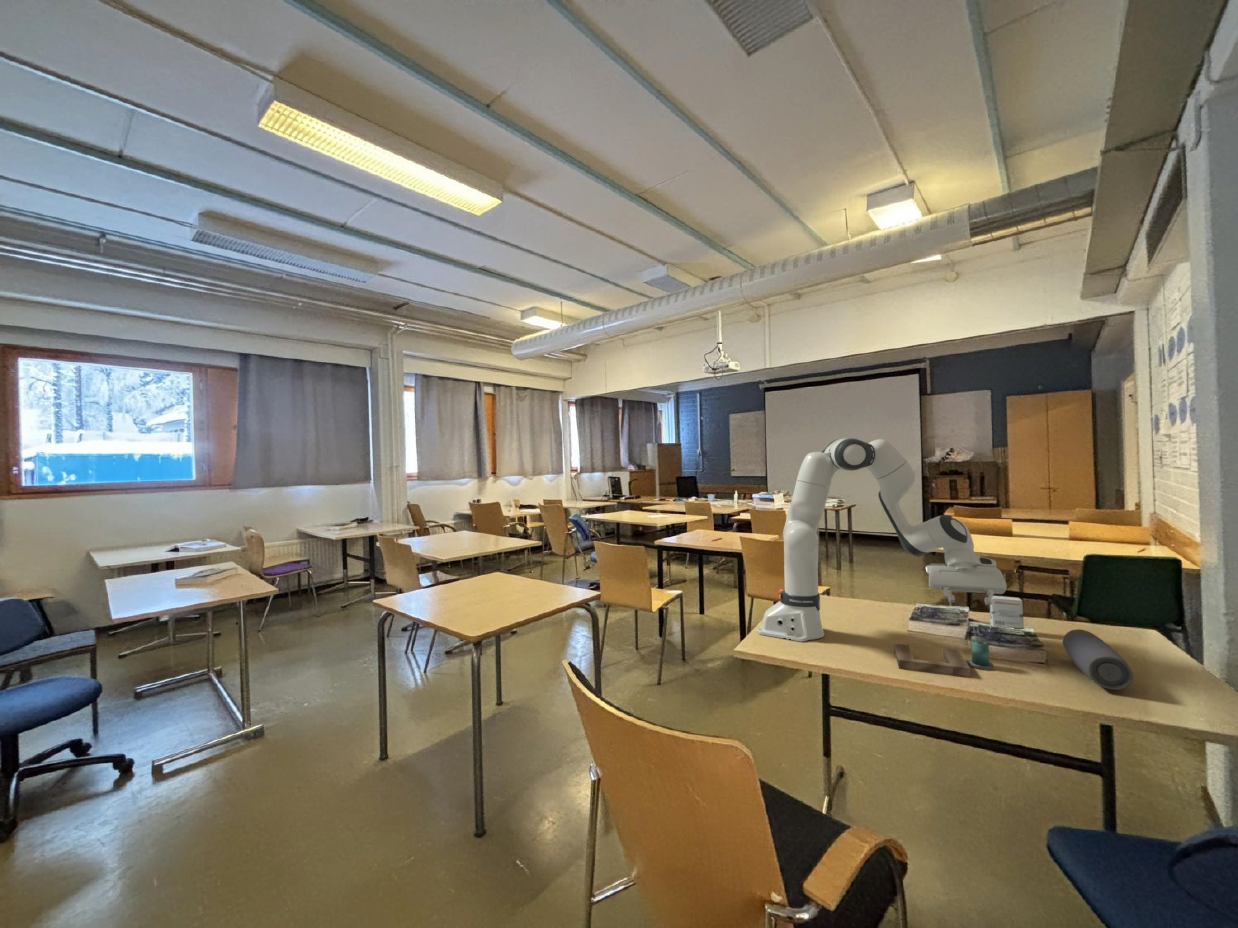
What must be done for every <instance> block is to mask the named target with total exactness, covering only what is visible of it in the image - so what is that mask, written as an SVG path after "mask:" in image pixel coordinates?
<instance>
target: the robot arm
mask: <svg viewBox="0 0 1238 928" xmlns="http://www.w3.org/2000/svg"><path fill="white" fill-rule="evenodd" d="M800 465H801V466H800V467H799V470H798V474H797V478H796V482H795V486H794V489H793V493H792V497H791V501H790V505H789V508H788V511H787V512H788V513H787V514H786V515H787V516H786V520H785V524H784V527H783V531H782V537H783V563H784V564H783V566H784V569H783V570H784V571H783V572H784V573H783V575H784V577H783V578H784V589H782V588H780V589H779V590H778V602H776V603H775V604H773V605H772V606H770V607H769V608H767V609H766V610H765V612H764V615H763V619H762V621H763V620H764V621H763V624H761V626H760V627H758V628H757V626H758V624H760V623H761V622H762V621H760V622H759V623H758V624H757V626H756V633H758V634H759V635H762V636H767V637H773V638H778V639H783V638H786V639H785V640H789V639H791V641H795V642H802V643H803V642H807V641H809V640H818V639H822V638H823V637H824V636H825V631H824V629H823V625H822V620H821V615H820V614H821V613H820V610H821V596H820V592H819V575H818V571H819V570H818V568H819V536H818V529H819V525H820V523H821V520H822V516H823V514H824V511H825V510H826V509H825V508H826V504H827V500H828V496H829V491H830V488H831V484H832V479H833V477H834V475H835V473H836V472H837V471H839V470H841V471H858V470H861V469H863V468H866V469H867V470H868V471H870V473H871V474H872V476H873V477H874V478H875V480H876V481H877V482H878V485H879V492H878V499H879V501H880V504H881V507H882V508H883V510H884V512H885V514H886V516H887V517H888V519H889V521H890V523H891V525H892V528H894V531H895V533H896V534H897V537H898V540H899V542H900V544H901V546H902V549H904V551H905V552H906V553H908V554H910V555H911V556H914V557H923V556H925V555H928V554H929V553H931V552H934V551H937V550H939V549H942V550H943V552H944V556H943V557H944V562H945V563H934V562H932V563H930V564H927V565H926V566H925V571H926V574H927V575H928V586H929V589H931V590H932V591H942V593H943V594H944V596H946V598H947V599H948V602H949V603H956V598H955V595H954V594H951V593H950V592H963V593H979V594H981V593H982V594H986V595H987V596H985V597H984V604H985V605H986V606H988V605H989V606H990V605H992V600H991V599H992V597H993V596H994V594H996V595H997V594H998V595H1003V594H1004V593H1005V592H1006V591H1007V588H1008V587H1007V582H1006V580H1005V577H1004V575H1003V572H1002V571H1001V570H1000V569H999V568H997V561H996V560H994V559H991V558H988V557H983V556H980V555H977V553H976V552H975V549H974V548H975V544H974V540H973V538H972V537H973V536H972V535H971V532H970V530H969V528H968V526H967V525H966V523H964V522H963V521H961V520H959V519H956V518H954V517H951V516H950V515H945V514H941V515H938V516H935V517H933V518H929V519H928V520H927V521H923V522H922V523H919V524H916V525H912V524H910V522H909V521H908V520H907V518H906V516H905V514H904V512H903V510H902V508H901V506H900V500H902V498H903V497H904V496H905V495H906V494H907V493H908V492H910V490H911V488H912V487H913V484H914V483H915V478H916V473H915V470H914V468H913V467H912V466H911V463H909V462H908V460H907V459H906V458H905V457H904V455H903V454H902V453H901V452H900V451H899V450H898V449H897V448H896V447H895V446H894V445H892V443H890V442H889V441H887V440H885V439H882V438H877V439H874V440H872V441H870V442H866V441H863V440H860V439H858V438H852V437H844V438H843V437H842V438H837V439H834V440H833V441H831V442H829V444H828V445H827V446H826V447H825V448H824V449H823V450H822V451H813V452H810V453H807V454H806V455H805V456H804V459H803V461H802V463H801V464H800Z"/></svg>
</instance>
